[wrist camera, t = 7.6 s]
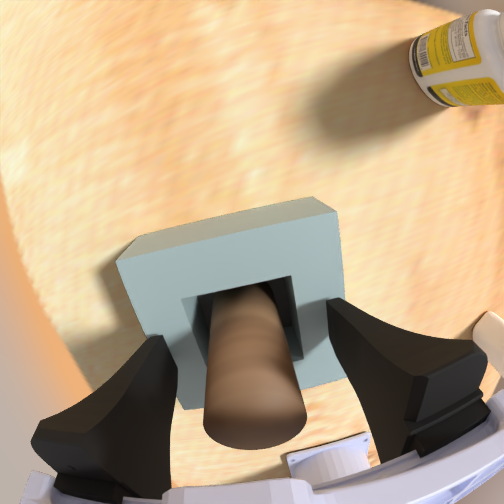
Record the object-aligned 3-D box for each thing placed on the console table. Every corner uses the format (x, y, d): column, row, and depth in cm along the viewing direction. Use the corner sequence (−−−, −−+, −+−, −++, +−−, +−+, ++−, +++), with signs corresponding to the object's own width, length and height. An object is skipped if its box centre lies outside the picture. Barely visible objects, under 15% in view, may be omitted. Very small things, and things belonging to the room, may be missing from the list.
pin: (277, 320, 16) (307, 441, 8) (219, 329, 16) (216, 453, 8) (270, 268, 15) (305, 383, 7) (207, 278, 15) (190, 399, 7)
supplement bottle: (473, 92, 13) (573, 90, 5) (433, 119, 13) (550, 123, 5) (437, 27, 11) (532, -4, 3) (392, 47, 12) (498, 3, 4)
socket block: (329, 340, 17) (347, 377, 14) (189, 369, 17) (184, 410, 14) (312, 196, 14) (336, 211, 11) (138, 236, 14) (115, 261, 11)
